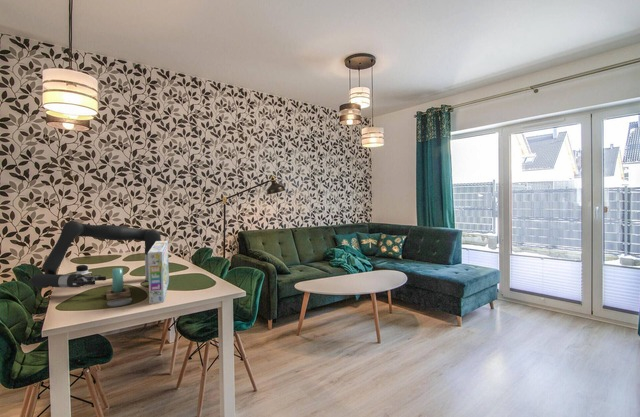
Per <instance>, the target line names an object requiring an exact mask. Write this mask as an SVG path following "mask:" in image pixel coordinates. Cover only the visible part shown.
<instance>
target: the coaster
mask: <svg viewBox="0 0 640 417" xmlns="http://www.w3.org/2000/svg"><path fill="white" fill-rule="evenodd" d="M132 302H133V298H131V297H123V298H116V299H110V300H108V301H107V303H106V304H107V306H108V307H112V308H116V307H123V306H127V305H130V304H131V303H132Z"/></svg>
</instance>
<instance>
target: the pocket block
mask: <svg viewBox="0 0 640 417" xmlns="http://www.w3.org/2000/svg"><path fill="white" fill-rule="evenodd" d="M105 295H106V301H111V300H114V299H118V298H130V297H131V290H130V287H129V286H127V287H126V286H125V287H123V292H120V293H113V288H112V289H108V290H107V289H106V290H105Z"/></svg>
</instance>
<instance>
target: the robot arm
mask: <svg viewBox="0 0 640 417" xmlns="http://www.w3.org/2000/svg"><path fill="white" fill-rule="evenodd" d="M77 237H79V238H83V237H85V238H86V237H88V238H89V237H90V238H96V239H101V240H108V241H118V242H119V241H121V242H123V241H124V242H125V241H142V242H144V269H145V275H144V276H145V281H146V282H149V277H148V252H149V250H150V249H151V248H152V246H153V245H154V243H155V242H156V241H162V238H161V233H160V232H159V231H158V230H156V229H154V228H149V229H148V228H133V227H128V226H122V225H115V224H113V225H112V224H111V225H110V224H98V225H97V224H87V223H83V222H82V223H81V222H78V221H76V220H70V221H66V222H65V224H64V225H62V229H61V232H60V235H59V237H58V240H57V241H56V244H55V245H54V247H53V248H52V250H51V251H50V253H49V254H48V256H47V257H46V258H45V261H44V262H43V264H42V265H41V268H42V269H43V270H44V273H36V274H33V275H32V277H30V279H29V285H31V286H32V287H35V288H43V289H46V288H49V287H52V288H71V289H72V288H75V289H76V288H77V289H78V288H81V287H85V286H95V285H96V282H97V281H98V282H99V281H100V282H101V281H103V282H104V281H106V280H107V277H106V275H105V276H101V274H97V275H96V274H92V275H90V276H85V277H84V276H83V275H82V274H75V273H66V274H65V273H63V274H57V271H58V269H59V267H60V266H61V264H62V262H63V261H64V259H65V256H66V253H67V252H68V250H69V248H70V246H71V245H72V243H73V242H74V240H75V239H76V238H77Z"/></svg>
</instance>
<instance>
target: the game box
mask: <svg viewBox="0 0 640 417" xmlns="http://www.w3.org/2000/svg"><path fill="white" fill-rule="evenodd" d="M169 266H170V265H169V241H168V240H161V241H156V242H155V243H154V245H153V246H152V248H151V249H150V250H149V252H148V277H149V281H148V304H149V305H152V304H153V305H154V304H162V303H163V304H164V302H165V299H166V294H167V291H168V286H169V283H170V271H169V268H170V267H169Z"/></svg>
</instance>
